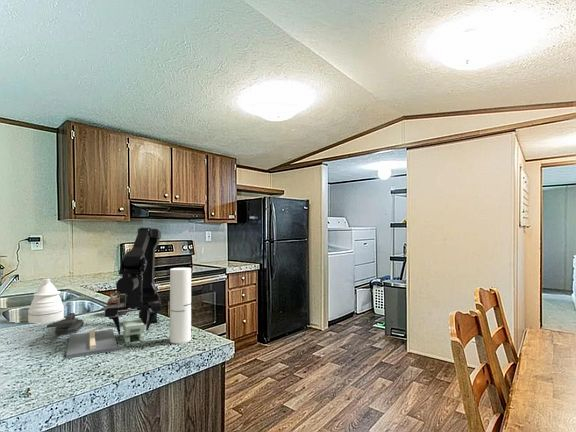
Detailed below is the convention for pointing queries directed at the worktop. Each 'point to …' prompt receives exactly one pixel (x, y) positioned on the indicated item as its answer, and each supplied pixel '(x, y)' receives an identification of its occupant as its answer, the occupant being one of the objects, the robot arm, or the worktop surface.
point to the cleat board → (91, 343)
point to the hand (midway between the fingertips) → (133, 332)
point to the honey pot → (46, 304)
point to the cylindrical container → (180, 305)
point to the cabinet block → (133, 329)
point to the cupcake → (116, 302)
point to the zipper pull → (67, 325)
